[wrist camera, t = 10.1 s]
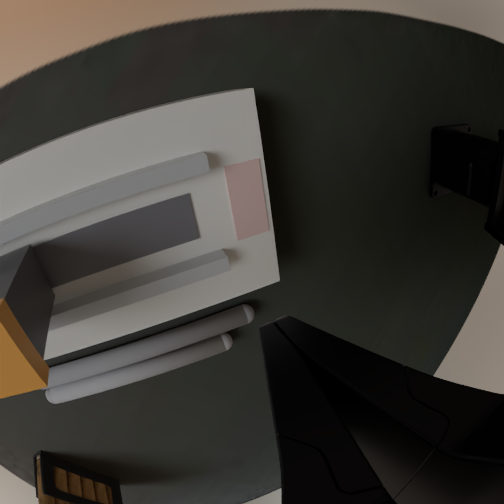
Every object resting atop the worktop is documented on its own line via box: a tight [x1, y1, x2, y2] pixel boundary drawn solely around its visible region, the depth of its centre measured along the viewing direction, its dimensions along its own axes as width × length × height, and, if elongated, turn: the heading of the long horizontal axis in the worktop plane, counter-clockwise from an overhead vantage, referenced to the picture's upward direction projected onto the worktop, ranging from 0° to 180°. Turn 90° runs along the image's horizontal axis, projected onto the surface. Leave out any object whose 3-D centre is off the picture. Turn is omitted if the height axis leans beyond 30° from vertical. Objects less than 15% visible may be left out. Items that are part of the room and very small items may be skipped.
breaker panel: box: [0, 88, 280, 360], centre depth 15 cm, size 20×11×4 cm, turn 99°
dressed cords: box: [41, 304, 254, 404], centre depth 21 cm, size 17×3×1 cm, turn 99°
